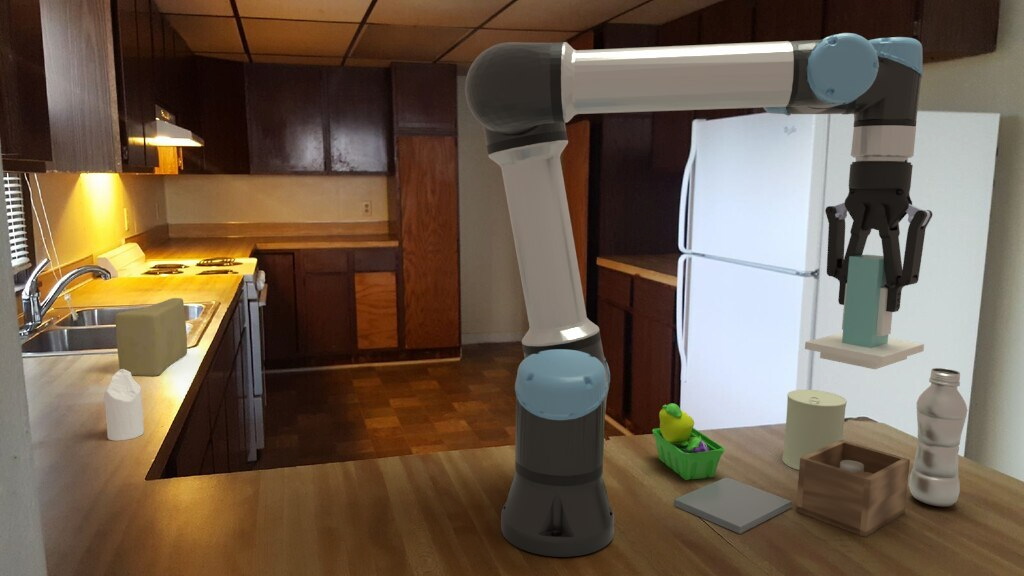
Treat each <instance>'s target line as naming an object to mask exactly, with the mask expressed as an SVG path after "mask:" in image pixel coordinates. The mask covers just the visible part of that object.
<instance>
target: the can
mask: <svg viewBox="0 0 1024 576" xmlns="http://www.w3.org/2000/svg"><path fill="white" fill-rule="evenodd" d="M786 396H787V404H786V405H787V406H786V417H785V420H786V421H785V435H784V447H783V454H782V458H781V459H782V462H783V464H785V465H786V466H788V467H789V468H790V469H794V470H797V471H799V466H800V458H801V457H803V456H806V455H808V454H810V453H813V452H815V451H817V450H819V449H822V448H824V447H826V446H829V445H831V444H833V443H835V442H838V441H840V440H843V438H844V425H845V415H846V407H847V402H848V401H847V399H846V398H844V397H843V396H842V395H839V394H836V393H833V392H829V391H828V392H827V391H824V390H818V389H817V390H815V389H795V390H791V391H789V392H787V395H786ZM843 441H844V440H843Z"/></svg>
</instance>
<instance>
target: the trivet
mask: <svg viewBox="0 0 1024 576" xmlns="http://www.w3.org/2000/svg"><path fill="white" fill-rule="evenodd" d="M792 505H793V501H792V500H790V499H787V498H784V497H782V496H778V495H776V494H774V493H771V492H768V491H765V490H762V489H760V488H758V487H754V486H751V485H749V484H746V483H744V482H740V481H738V480H735V479H733V478H729V477H727V476H726V477H724V478H722V479H719V480H717V481H714V482H712V483H709V484H707V485H705V486H703V487H700V488H698V489H695V490H692V491H690V492H688V493H686V494H683V495H681V496H679V497H676V498H674V499H673V506H674V507H675V508H678V509H681V510H684V511H685V512H687V513H690V514H692V515H695V516H697V517H700V518H702V519H704V520H706V521H708V522H711V523H714V524H716V525H718V526H721V527H723V528H725V529H727V530H730V531H732V532H735V533H737V534H738V535H741V534H743V533H745V532H747V531H749V530H751V529H752V528H753V529H754V528H755V527H757V526H759V525H761V524H763V523H764V522H766V521H768V520H770V519H772V518H774V517H776V516H778V515H780V514H782V513H784V512H786V511H788V510H790V509H792Z"/></svg>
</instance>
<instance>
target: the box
mask: <svg viewBox="0 0 1024 576" xmlns="http://www.w3.org/2000/svg"><path fill="white" fill-rule="evenodd" d="M910 462H911V460H910V458H906V457H902V456H899V455H896V454H892V453H889V452H884V451H881V450H878V449H875V448H871V447H868V446H864V445H860V444H857V443H853V442H850V441H846V440H840V441H838V442H835V443H833V444H831V445H829V446H826V447H824V448H822V449H819V450H817V451H815V452H813V453H810V454H808V455H806V456H803V457H801V458H800V466H799V470H798V478H797V479H798V480H797V494H796V506H795V511H796V512H797V513H800V514H803V515H805V516H808V517H810V518H814V519H816V520H818V521H822V523H823V522H824V523H826V524H830V525H831V526H834V527H838V528H840V529H843V530H845V531H847V532H850V533H853V534H855V535H858V536H861V537H863V538H867V537H869V536H870V535H871V534H873V533H875V532H876V531H878V530H880V529H881V528H883V527H885V526H887V525H888V524H889V523H891V522H892V521H894V520H895V519H896V520H897V518H898V517H901V516H902V515H903V514H905V512H906V505H907V503H906V501H907V495H908V494H907V492H908V485H909V472H910Z"/></svg>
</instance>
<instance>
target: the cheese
mask: <svg viewBox="0 0 1024 576" xmlns="http://www.w3.org/2000/svg"><path fill="white" fill-rule="evenodd" d="M184 304H185V303H184V299H183V298H180V297H172V298H169V299H166V300H163V301H161V302H158V303H155V304H151V305H149V306H146V307H142V308H138V309H131V310H126V311H122V312H118V313H116V314H115V317H114V319H115V336H116V337H115V338H116V348H117V357H118V368H119V370H120V369H125V370H127V371H129V372H131V376H132V377H136V376H138V377H156V376H160V375H161V374H162V373H163V372H164V371H165V370H167V368H168V367H169V366H171V365H172V364H174V363H175V362H178V361H179V360H180V359H182V358H184V357H185V356H186V355H187V354H188V334H187V333H188V332H187V324H186V314H185V305H184Z"/></svg>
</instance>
